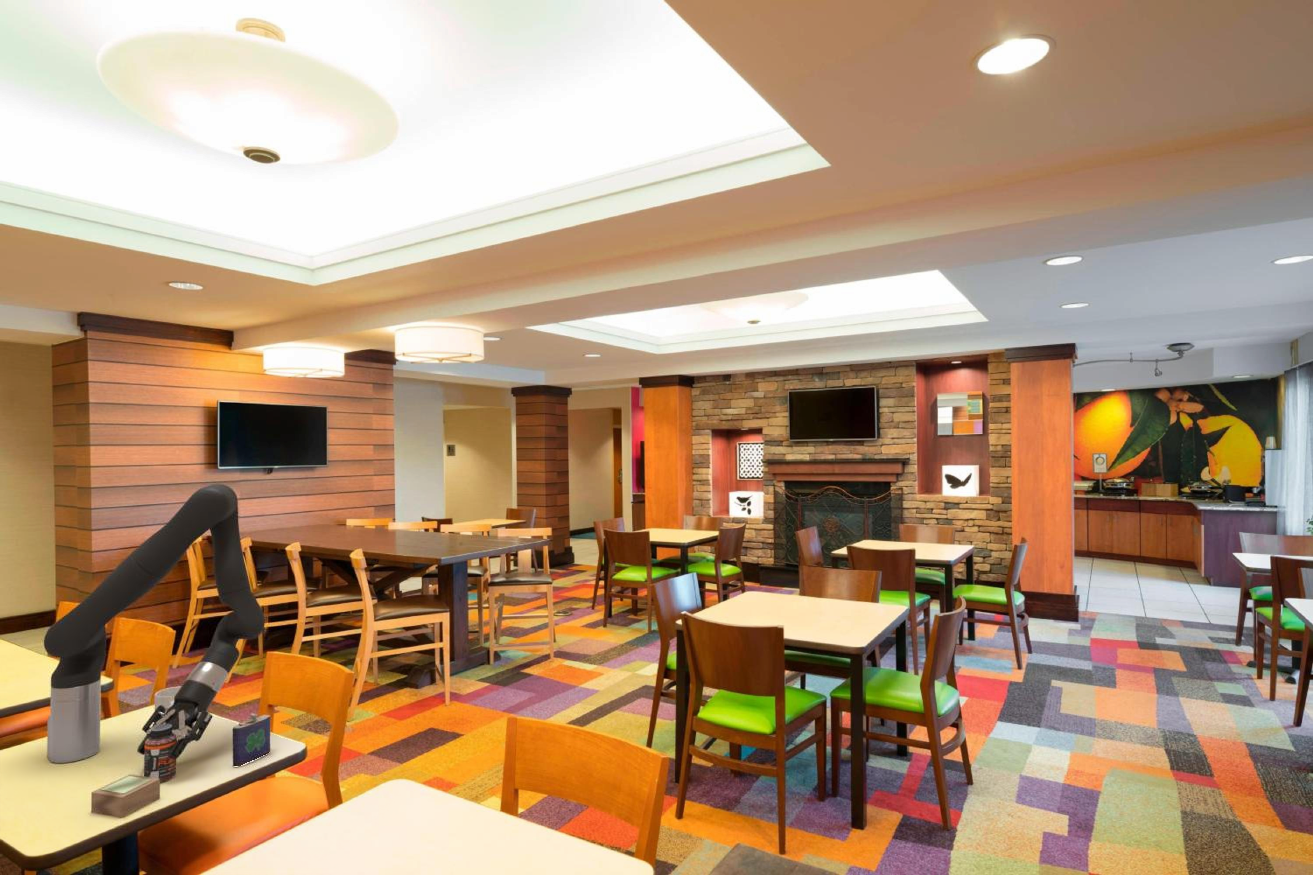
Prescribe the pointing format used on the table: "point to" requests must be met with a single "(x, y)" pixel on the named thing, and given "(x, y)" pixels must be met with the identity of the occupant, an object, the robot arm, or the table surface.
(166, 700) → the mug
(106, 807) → the block
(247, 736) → the flask
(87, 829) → the table surface
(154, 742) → the supplement bottle
